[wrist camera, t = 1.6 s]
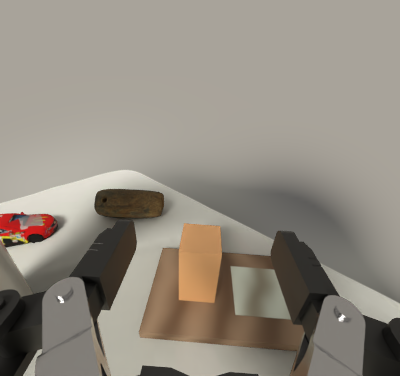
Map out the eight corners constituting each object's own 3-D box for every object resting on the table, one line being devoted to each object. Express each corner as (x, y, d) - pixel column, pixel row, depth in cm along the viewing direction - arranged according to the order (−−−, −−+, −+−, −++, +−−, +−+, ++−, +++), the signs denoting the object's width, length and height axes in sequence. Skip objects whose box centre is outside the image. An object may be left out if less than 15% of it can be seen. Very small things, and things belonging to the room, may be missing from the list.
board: (140, 337, 25) (132, 298, 21) (163, 253, 38) (161, 218, 33) (310, 352, 25) (336, 316, 21) (278, 262, 37) (290, 228, 33)
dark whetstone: (95, 225, 44) (88, 200, 40) (104, 207, 50) (99, 184, 46) (163, 222, 46) (162, 198, 42) (164, 205, 52) (163, 183, 48)
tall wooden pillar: (178, 300, 28) (178, 251, 24) (183, 269, 33) (184, 223, 28) (214, 303, 28) (221, 254, 23) (214, 272, 33) (220, 226, 28)
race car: (62, 221, 45) (56, 203, 42) (55, 241, 39) (47, 222, 37) (-32, 234, 39) (-45, 215, 37) (-56, 260, 34) (-74, 239, 32)
